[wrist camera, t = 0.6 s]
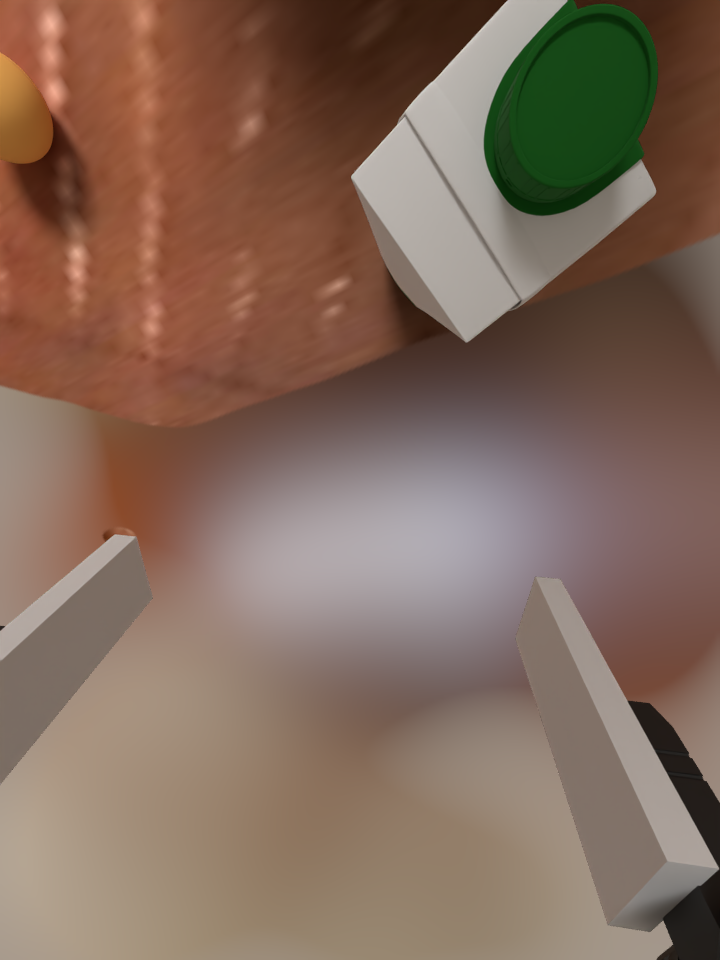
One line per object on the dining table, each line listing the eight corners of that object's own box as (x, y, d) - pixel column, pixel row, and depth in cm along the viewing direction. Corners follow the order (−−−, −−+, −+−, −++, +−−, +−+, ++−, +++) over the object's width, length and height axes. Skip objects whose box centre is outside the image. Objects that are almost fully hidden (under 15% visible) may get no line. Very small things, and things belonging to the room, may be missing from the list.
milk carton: (527, 252, 29) (731, 177, 11) (431, 333, 32) (467, 376, 14) (462, 143, 27) (588, -175, 9) (365, 242, 30) (310, 156, 12)
